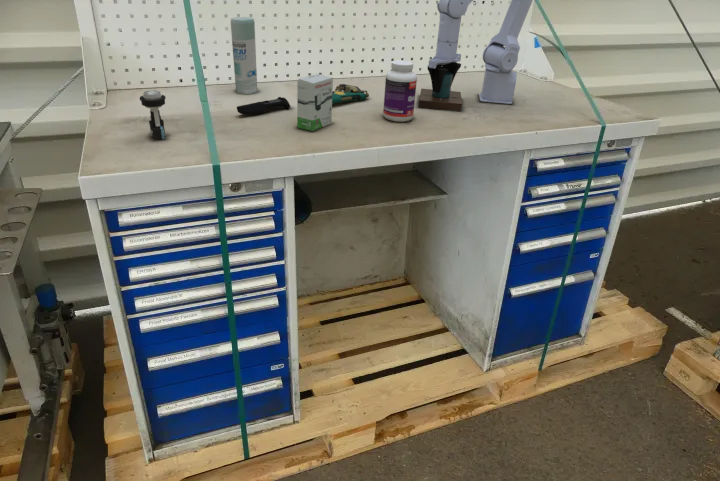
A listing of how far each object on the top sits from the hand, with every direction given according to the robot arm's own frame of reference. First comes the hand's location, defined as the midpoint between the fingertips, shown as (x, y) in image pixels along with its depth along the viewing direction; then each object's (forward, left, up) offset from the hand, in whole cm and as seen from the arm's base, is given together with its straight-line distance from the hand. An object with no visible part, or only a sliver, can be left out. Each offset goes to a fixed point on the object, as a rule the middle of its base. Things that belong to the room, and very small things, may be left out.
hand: (441, 89), depth 152 cm
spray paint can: (+57, +5, -4) cm, 57 cm away
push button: (+64, +47, -4) cm, 80 cm away
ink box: (+31, +30, -4) cm, 43 cm away
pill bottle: (+11, +18, -4) cm, 21 cm away
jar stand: (0, 0, -4) cm, 4 cm away
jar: (0, 0, -2) cm, 2 cm away
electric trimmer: (+46, +23, -4) cm, 52 cm away
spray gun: (+29, +5, -4) cm, 30 cm away
